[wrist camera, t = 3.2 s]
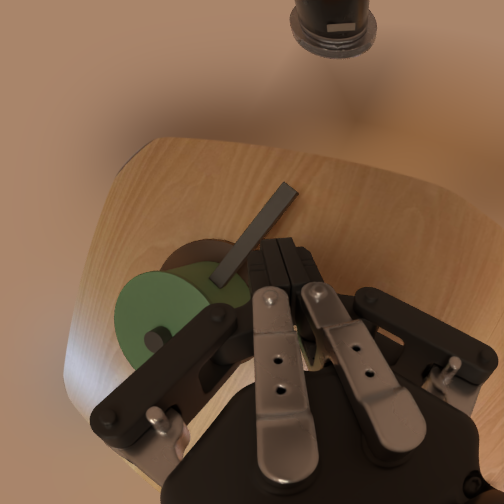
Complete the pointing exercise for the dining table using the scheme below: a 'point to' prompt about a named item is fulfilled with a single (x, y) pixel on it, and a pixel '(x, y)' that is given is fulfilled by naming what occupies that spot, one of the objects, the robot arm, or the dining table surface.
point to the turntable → (204, 258)
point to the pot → (188, 289)
